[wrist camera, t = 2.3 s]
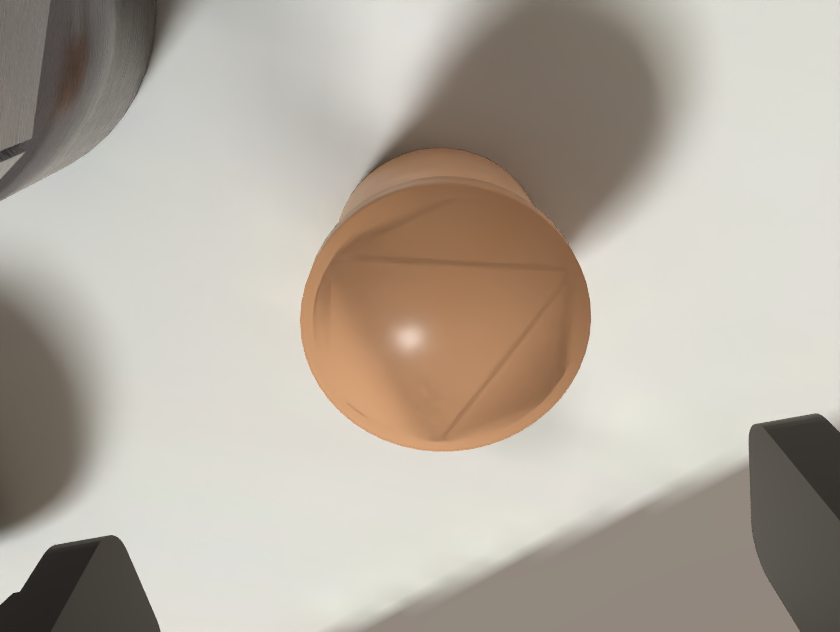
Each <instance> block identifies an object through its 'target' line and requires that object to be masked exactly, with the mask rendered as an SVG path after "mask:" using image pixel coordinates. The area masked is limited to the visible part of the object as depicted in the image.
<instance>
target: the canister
mask: <svg viewBox="0 0 840 632" xmlns="http://www.w3.org/2000/svg"><path fill="white" fill-rule="evenodd" d="M155 22H156V0H0V201H1V200H3V199H5V198H7V197H9V196H11V195H13V194H15V193H16V192H18V191H20V190H22V189H24V188H26V187H28V186H30V185H32V184H34V183H36V182H37V181H39V180H41V179H43V178H45V177H47V176H49V175H51V174H53V173H55V172H57V171H58V170H60V169H62V168H64V167H66V166H68V165H70V164H71V163H73V162H74V161H76V160H77V159H79V158H81V157H82V156H84V155H85V154H87V153H88V152H90V151H91V150H92V149H93V148H94V147H95V146H96V145H97V144H99V143H100V142H101V141H102V140H103V139H104V138H105V137H106V136H107V135H108V134H109V133H110V132H111V131H112V129H113V128H114V127H115V126H116V124H117V123H118V122H119V121H120V120H121V118H122V117H123V116H124V114H125V112H126V111H127V109H128V107H129V106H130V104H131V102H132V101H133V99H134V97H135V96H136V94H137V91H138V89H139V86H140V84H141V81H142V79H143V77H144V74H145V72H146V69H147V65H148V61H149V57H150V53H151V49H152V45H153V39H154V30H155Z"/></svg>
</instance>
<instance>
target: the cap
mask: <svg viewBox="0 0 840 632" xmlns="http://www.w3.org/2000/svg"><path fill="white" fill-rule="evenodd" d="M300 324H301V338H302V343H303V347H304V352H305V356H306V359H307V361H308V364H309V367H310V369H311V372H312V374H313V375H314V377H315V379H316V381H317V383H318V385H319V387H320V388H321V389H322V391H323V392H324V393H325V395H326V396H327V398H328V399H329V400H330V401H331V402H332V403H333V405H334V406H335V407H336V408H337V409H338V410H339V411H340V412H341V413H342V414H343V415H345V416H346V417H347V418H348V419H350V420H351V421H352V422H353V423H354V424H356V425H358V426H359V427H361V428H362V429H364V430H365V431H367V432H369V433H371V434H373V435H375V436H377V437H379V438H381V439H383V440H386V441H388V442H391V443H394V444H397V445H400V446H404V447H409V448H413V449H418V450H427V451H459V450H468V449H474V448H478V447H482V446H486V445H490V444H493V443H495V442H498V441H501V440H504V439H506V438H508V437H510V436H512V435H514V434H516V433H518V432H520V431H522V430H523V429H525V428H527V427H528V426H530V425H531V424H533V423H534V422H536V421H537V420H538V419H539V418H541V417H542V416H543V415H544V414H545V413H547V412H548V411H549V410H550V409H551V408H552V407H553V406H554V405H555V404H556V403H557V401H558V400H559V399H560V398H561V397H562V396H563V394H564V393H565V392H566V390H567V389H568V387H569V386H570V385H571V383H572V381H573V379H574V378H575V376H576V374H577V372H578V370H579V368H580V366H581V363H582V360H583V358H584V355H585V353H586V348H587V344H588V340H589V335H590V324H591V310H590V298H589V293H588V289H587V284H586V281H585V278H584V275H583V273H582V270H581V267H580V265H579V263H578V261H577V259H576V258H575V256H574V254H573V252H572V250H571V248H570V247H569V245H568V243H567V242H566V240H565V238H564V237H563V236H562V234H561V233H560V232H559V230H558V229H557V227H556V226H555V225H554V224H553V223H552V222H551V220H550V219H549V218H548V217H547V216H546V215H545V214H544V213H543V212H542V211H540V210H539V209H538V208H537V207H535V206H534V205H533V204H532V203H531V201H530V199H529V197H528V195H527V194H526V192H525V191H524V190H523V188H522V187H521V186H520V184H519V183H518V182H517V181H516V180H515V179H514V178H513V177H512V176H511V175H510V174H509V173H508V172H506V171H505V170H504V169H503V168H501V167H500V166H499V165H497V164H495V163H493V162H492V161H490V160H488V159H486V158H484V157H481V156H479V155H477V154H474V153H471V152H467V151H463V150H458V149H450V148H429V149H422V150H416V151H413V152H409V153H405V154H403V155H400V156H398V157H395V158H393V159H391V160H389V161H387V162H386V163H384V164H382V165H381V166H379V167H378V168H376V169H375V170H374V171H373V172H371V173H370V174H369V175H368V176H367V177H366V178H365V179H364V180H363V181H362V182H361V183H360V184H359V185H358V186H357V188H356V189H355V190H354V192H353V193H352V194H351V196H350V197H349V199H348V201H347V203H346V205H345V207H344V209H343V211H342V214H341V217H340V219H339V222H338V224H337V225H336V226H335V227H334V229H333V230H332V231H331V233H330V234H329V235H328V237H327V238H326V239H325V241H324V243H323V245H322V246H321V248H320V250H319V252H318V254H317V256H316V258H315V261H314V263H313V266H312V269H311V271H310V274H309V277H308V280H307V283H306V285H305V290H304V294H303V299H302V303H301V317H300Z"/></svg>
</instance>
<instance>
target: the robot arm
mask: <svg viewBox="0 0 840 632" xmlns="http://www.w3.org/2000/svg"><path fill="white" fill-rule="evenodd" d="M749 467H750V495H751V524H752V533H753V539H754V543H755V547H756V551H757V554H758V557H759V560H760V563H761V565H762V567H763V570H764V572H765V574H766V576H767V578H768V580H769V582H770V583H771V585H772V586H773V588H774V589H775V591H776V593H777V594H778V596H779V598H780V599H781V601H782V602H783V604H784V606H785V607H786V609H787V611H788V612H789V614H790V616H791V617H792V619H793V620H794V622H795V624H796V625H797V627H798V629H799V630H800V632H840V432H839V431H838V430H837V429H836V428H835V427H834V426H833V425H832V424H831V423H830V422H829V421H828V420H827V419H826V418H824V417H823V416H822V415H820V414H810V415H804V416H799V417H793V418H787V419H781V420H776V421H770V422H764V423H759V424H754V425H753V426H752V427H751V429H750V432H749ZM0 632H160V628H159V624H158V622H157V619H156V617H155V615H154V612H153V610H152V608H151V605H150V603H149V601H148V598H147V596H146V594H145V591H144V589H143V587H142V584H141V582H140V580H139V577H138V575H137V573H136V571H135V568H134V566H133V564H132V561H131V559H130V557H129V554H128V552H127V550H126V548H125V546H124V544H123V543H122V541H121V540H120V539H119V538H118V537H116V536H113V535H109V536H103V537H98V538H92V539H86V540H81V541H75V542H69V543H63V544H58V545H54V546H52V547H50V548H49V549H48V550H47V551H46V552H45V554H44V555H43V557H42V558H41V560H40V561H39V563H38V564H37V566H36V568H35V569H34V571H33V572H32V574H31V575H30V577H29V578H28V580H27V582H26V583H25V585H24V586H23V588H22V589H21V591H20V592H16V593H13V594H12V595H11V596H10V597H8V598H7V599H6V600H5V601H4V602H3V603H2V604H1V605H0Z"/></svg>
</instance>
